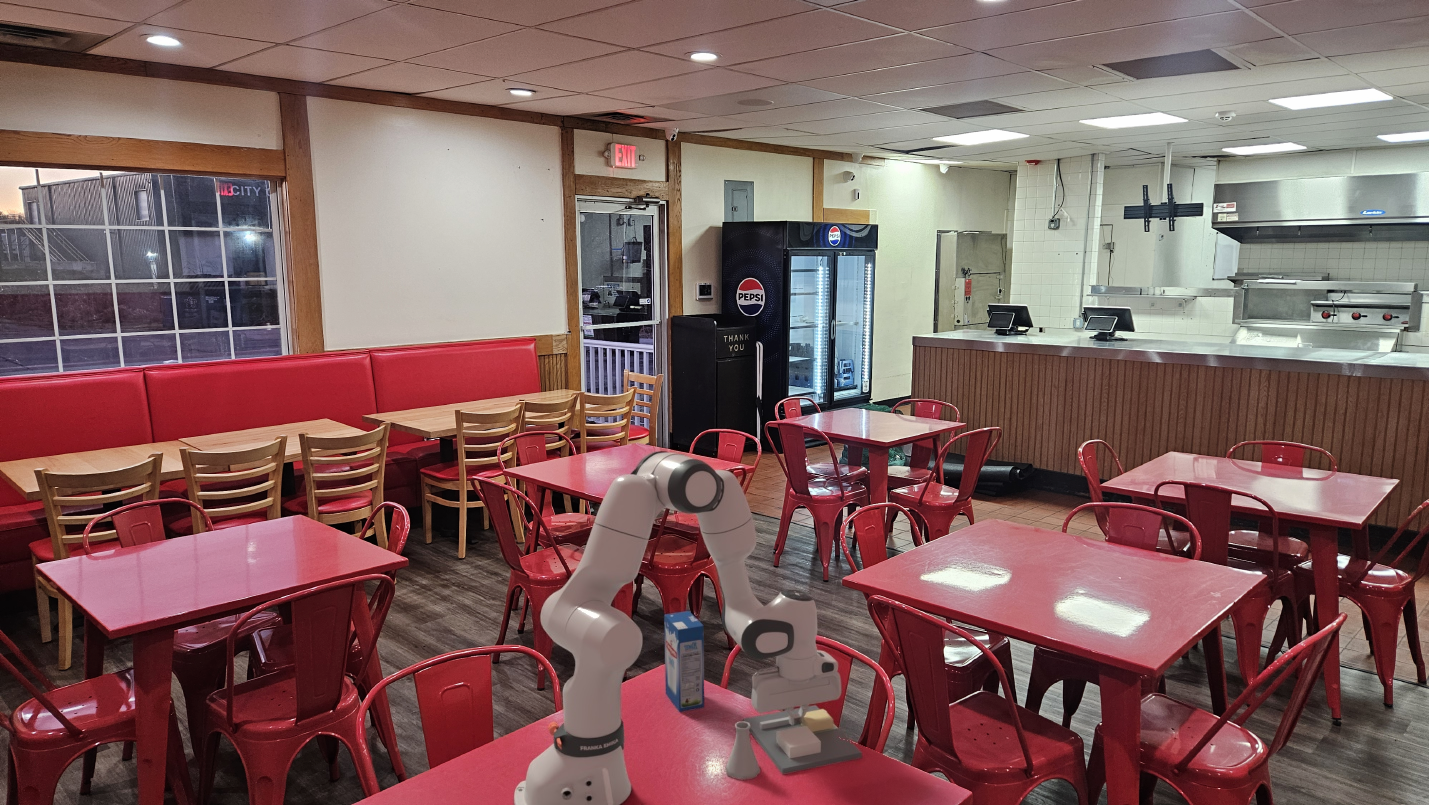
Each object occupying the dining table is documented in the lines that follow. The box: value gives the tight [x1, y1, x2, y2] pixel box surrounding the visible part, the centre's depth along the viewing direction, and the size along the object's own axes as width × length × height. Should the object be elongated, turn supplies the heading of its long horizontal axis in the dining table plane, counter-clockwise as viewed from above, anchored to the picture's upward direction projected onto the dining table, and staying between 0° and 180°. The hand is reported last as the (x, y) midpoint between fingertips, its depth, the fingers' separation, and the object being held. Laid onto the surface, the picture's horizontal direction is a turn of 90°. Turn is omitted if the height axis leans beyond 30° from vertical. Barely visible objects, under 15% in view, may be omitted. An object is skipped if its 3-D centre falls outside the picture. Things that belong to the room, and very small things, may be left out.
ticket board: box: [742, 704, 863, 775], centre depth 197 cm, size 18×22×4 cm
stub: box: [801, 708, 834, 732], centre depth 200 cm, size 6×5×2 cm
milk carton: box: [663, 610, 705, 713], centre depth 214 cm, size 10×6×20 cm, turn 22°
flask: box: [725, 720, 762, 780], centre depth 185 cm, size 7×7×10 cm
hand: (796, 723), depth 199 cm, fingers closed
